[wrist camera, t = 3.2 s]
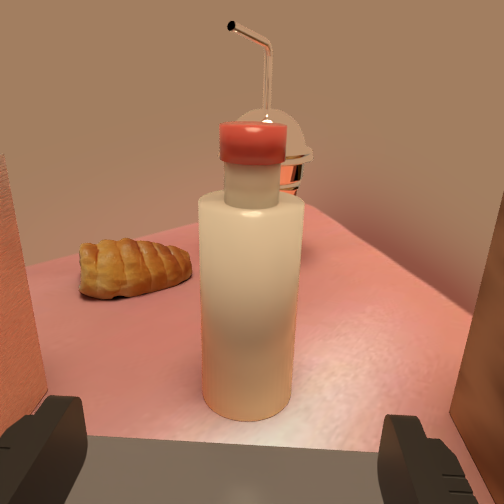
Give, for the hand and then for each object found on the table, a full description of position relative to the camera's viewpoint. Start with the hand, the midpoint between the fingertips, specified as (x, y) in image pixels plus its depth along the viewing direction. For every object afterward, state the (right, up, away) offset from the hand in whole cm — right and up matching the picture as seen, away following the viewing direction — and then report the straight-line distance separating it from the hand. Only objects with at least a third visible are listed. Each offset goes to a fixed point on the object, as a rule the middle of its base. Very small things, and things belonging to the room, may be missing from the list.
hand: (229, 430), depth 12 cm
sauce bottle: (0, -3, +13) cm, 14 cm away
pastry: (-10, +2, +26) cm, 28 cm away
